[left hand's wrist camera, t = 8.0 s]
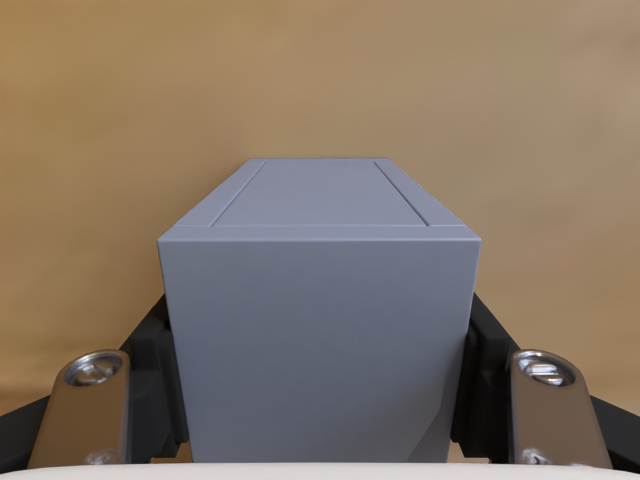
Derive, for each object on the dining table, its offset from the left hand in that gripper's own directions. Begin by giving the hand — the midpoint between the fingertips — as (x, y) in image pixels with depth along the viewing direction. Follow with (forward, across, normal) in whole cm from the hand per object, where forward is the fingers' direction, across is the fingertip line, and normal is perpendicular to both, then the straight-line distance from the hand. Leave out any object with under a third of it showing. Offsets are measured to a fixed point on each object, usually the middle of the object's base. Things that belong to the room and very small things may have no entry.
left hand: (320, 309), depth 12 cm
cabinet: (+7, 0, -6) cm, 9 cm away
